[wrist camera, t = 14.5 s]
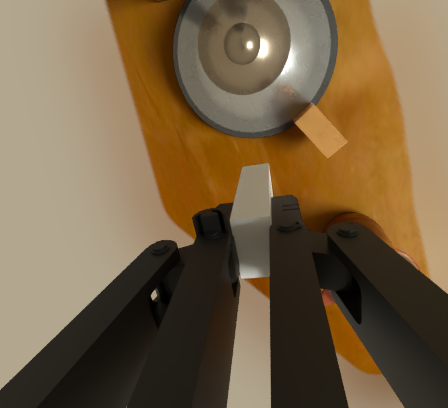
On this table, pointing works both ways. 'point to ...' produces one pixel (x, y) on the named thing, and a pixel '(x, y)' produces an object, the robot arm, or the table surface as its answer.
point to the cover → (244, 44)
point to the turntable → (279, 90)
